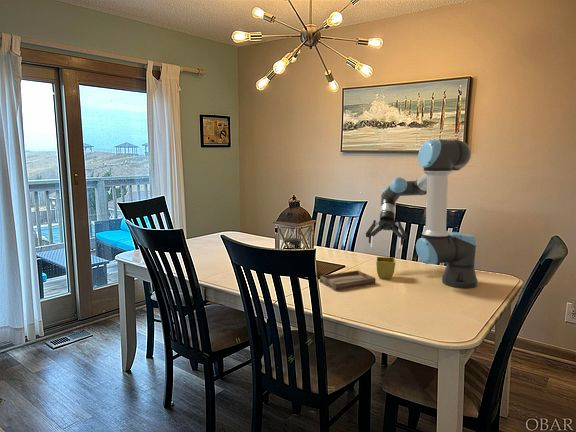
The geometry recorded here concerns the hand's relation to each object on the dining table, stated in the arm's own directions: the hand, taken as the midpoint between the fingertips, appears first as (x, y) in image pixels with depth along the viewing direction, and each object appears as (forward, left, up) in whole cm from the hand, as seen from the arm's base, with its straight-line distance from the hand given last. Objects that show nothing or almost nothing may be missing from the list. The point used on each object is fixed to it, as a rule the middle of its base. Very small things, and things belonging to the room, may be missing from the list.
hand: (385, 249), depth 216 cm
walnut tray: (-6, +26, -12) cm, 29 cm away
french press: (+22, +40, -12) cm, 47 cm away
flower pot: (-6, +5, -12) cm, 15 cm away
